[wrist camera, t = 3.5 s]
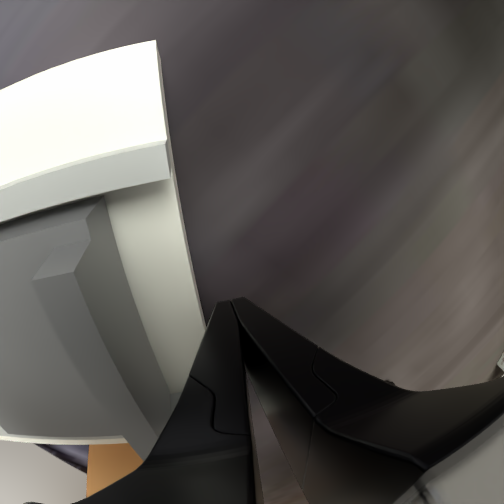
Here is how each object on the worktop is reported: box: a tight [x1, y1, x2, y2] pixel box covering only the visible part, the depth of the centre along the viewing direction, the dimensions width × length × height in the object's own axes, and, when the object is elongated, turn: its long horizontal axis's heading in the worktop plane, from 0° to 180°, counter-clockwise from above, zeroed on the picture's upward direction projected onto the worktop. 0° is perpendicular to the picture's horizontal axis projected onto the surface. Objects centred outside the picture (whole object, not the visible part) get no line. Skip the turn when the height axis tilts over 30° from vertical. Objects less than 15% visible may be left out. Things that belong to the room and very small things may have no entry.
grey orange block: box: [86, 443, 144, 498], centre depth 13 cm, size 4×4×9 cm
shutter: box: [0, 195, 171, 461], centre depth 7 cm, size 8×8×4 cm
